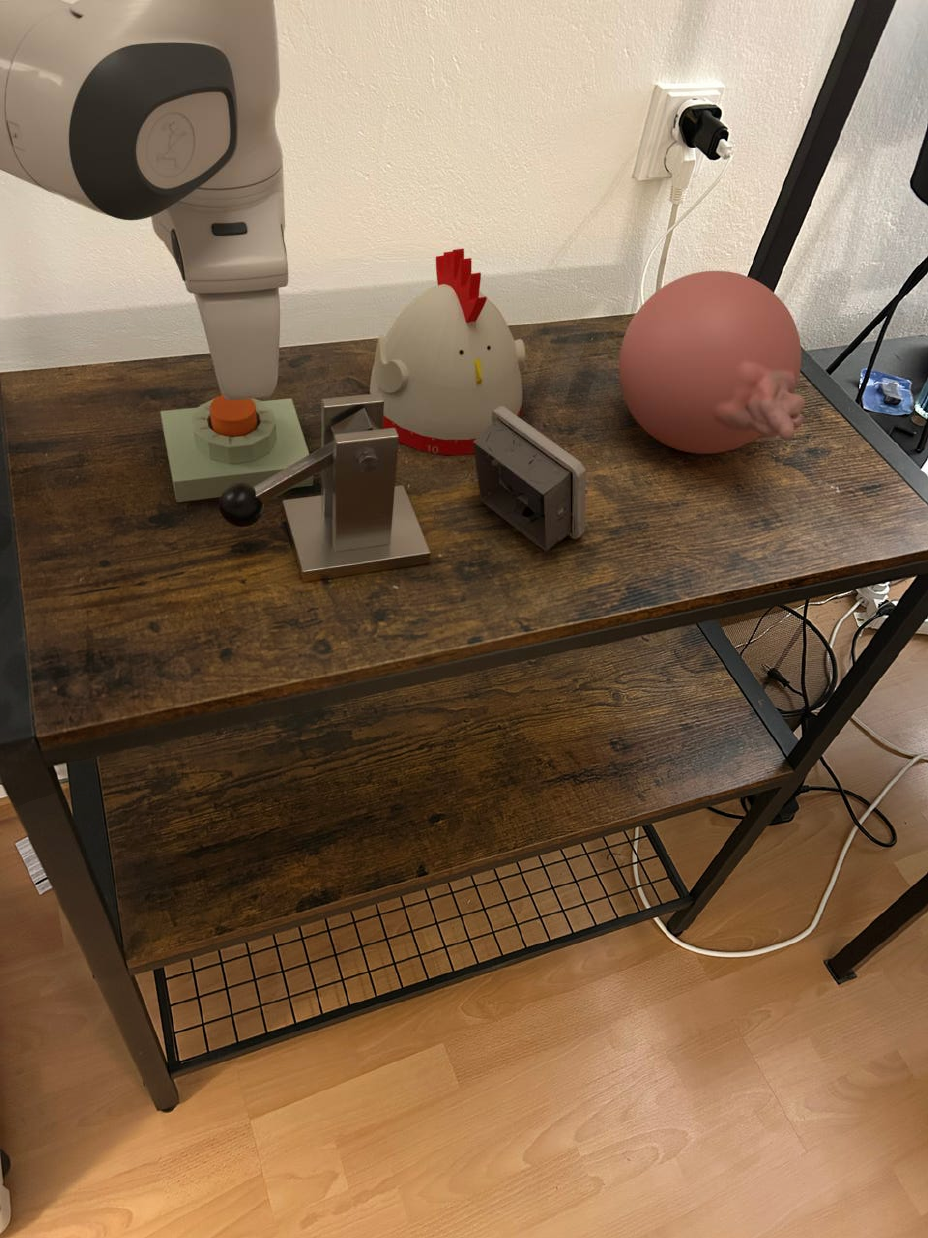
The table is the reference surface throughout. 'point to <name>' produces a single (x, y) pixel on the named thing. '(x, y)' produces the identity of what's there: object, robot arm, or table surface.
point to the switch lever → (285, 476)
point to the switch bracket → (356, 502)
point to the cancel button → (233, 416)
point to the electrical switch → (530, 480)
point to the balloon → (712, 364)
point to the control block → (230, 449)
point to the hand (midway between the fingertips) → (233, 374)
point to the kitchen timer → (448, 364)
